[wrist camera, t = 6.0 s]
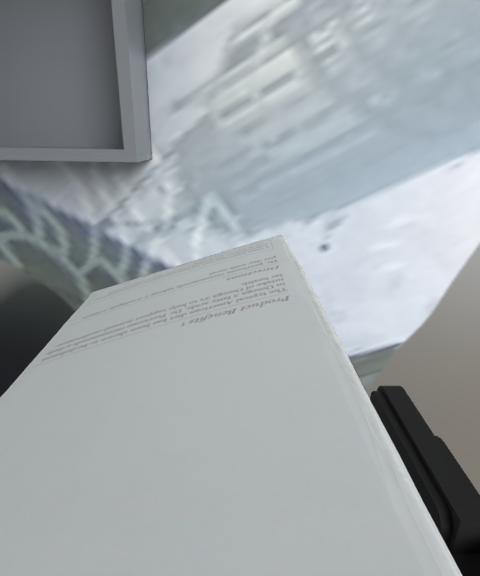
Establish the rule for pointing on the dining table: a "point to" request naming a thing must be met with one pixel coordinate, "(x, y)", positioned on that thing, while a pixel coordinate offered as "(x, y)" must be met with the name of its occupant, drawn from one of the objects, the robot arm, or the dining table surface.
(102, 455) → the supplement box
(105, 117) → the bin
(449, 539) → the robot arm
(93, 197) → the dining table surface
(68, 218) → the dining table surface
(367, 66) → the dining table surface
